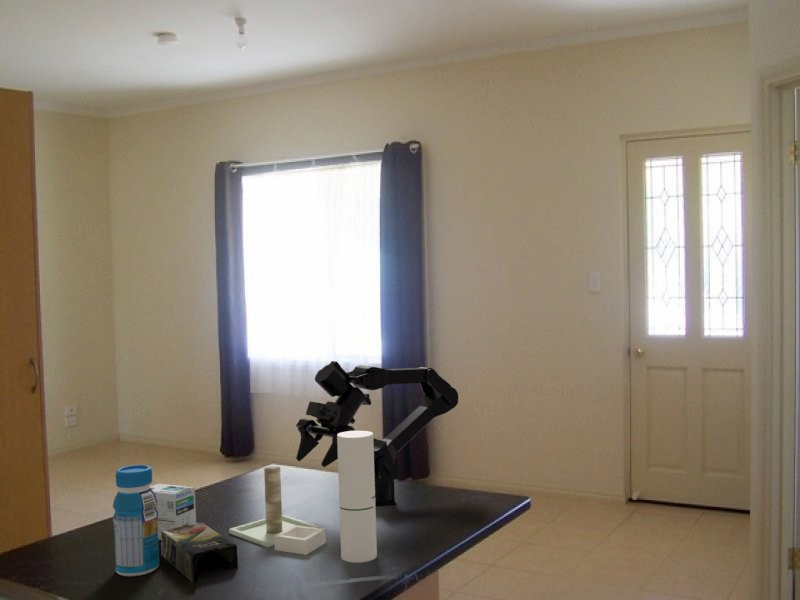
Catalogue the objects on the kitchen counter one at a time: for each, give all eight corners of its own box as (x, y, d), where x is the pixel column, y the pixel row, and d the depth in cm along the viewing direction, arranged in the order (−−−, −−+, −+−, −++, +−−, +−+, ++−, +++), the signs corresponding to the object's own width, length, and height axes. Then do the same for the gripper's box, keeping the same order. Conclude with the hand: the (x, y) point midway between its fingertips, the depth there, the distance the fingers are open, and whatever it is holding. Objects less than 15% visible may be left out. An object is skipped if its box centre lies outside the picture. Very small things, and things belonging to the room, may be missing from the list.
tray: (281, 520, 183) (281, 514, 183) (319, 533, 173) (319, 526, 173) (229, 536, 173) (229, 528, 173) (266, 550, 164) (266, 542, 163)
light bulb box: (197, 534, 176) (196, 486, 175) (177, 543, 170) (175, 493, 169) (160, 528, 180) (158, 482, 180) (139, 538, 174) (137, 489, 174)
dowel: (284, 528, 175) (282, 466, 174) (279, 533, 171) (277, 469, 171) (269, 528, 175) (267, 465, 175) (264, 533, 172) (262, 469, 172)
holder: (295, 541, 169) (294, 525, 169) (325, 545, 165) (325, 528, 165) (274, 552, 162) (274, 535, 162) (306, 557, 158) (305, 540, 158)
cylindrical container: (382, 554, 159) (378, 431, 158) (369, 566, 152) (365, 438, 152) (349, 551, 161) (345, 430, 161) (335, 563, 155) (331, 436, 154)
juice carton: (156, 555, 163) (156, 526, 163) (202, 545, 169) (202, 517, 168) (190, 586, 147) (190, 553, 146) (240, 574, 152) (239, 542, 152)
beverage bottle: (116, 580, 149) (112, 475, 148) (113, 566, 157) (109, 466, 156) (162, 573, 152) (158, 470, 152) (157, 559, 160) (153, 461, 160)
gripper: (301, 385, 192) (265, 437, 184) (351, 391, 178) (315, 448, 171) (327, 412, 197) (293, 464, 190) (378, 420, 184) (343, 477, 177)
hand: (309, 463), depth 182 cm, fingers open, 9 cm apart
